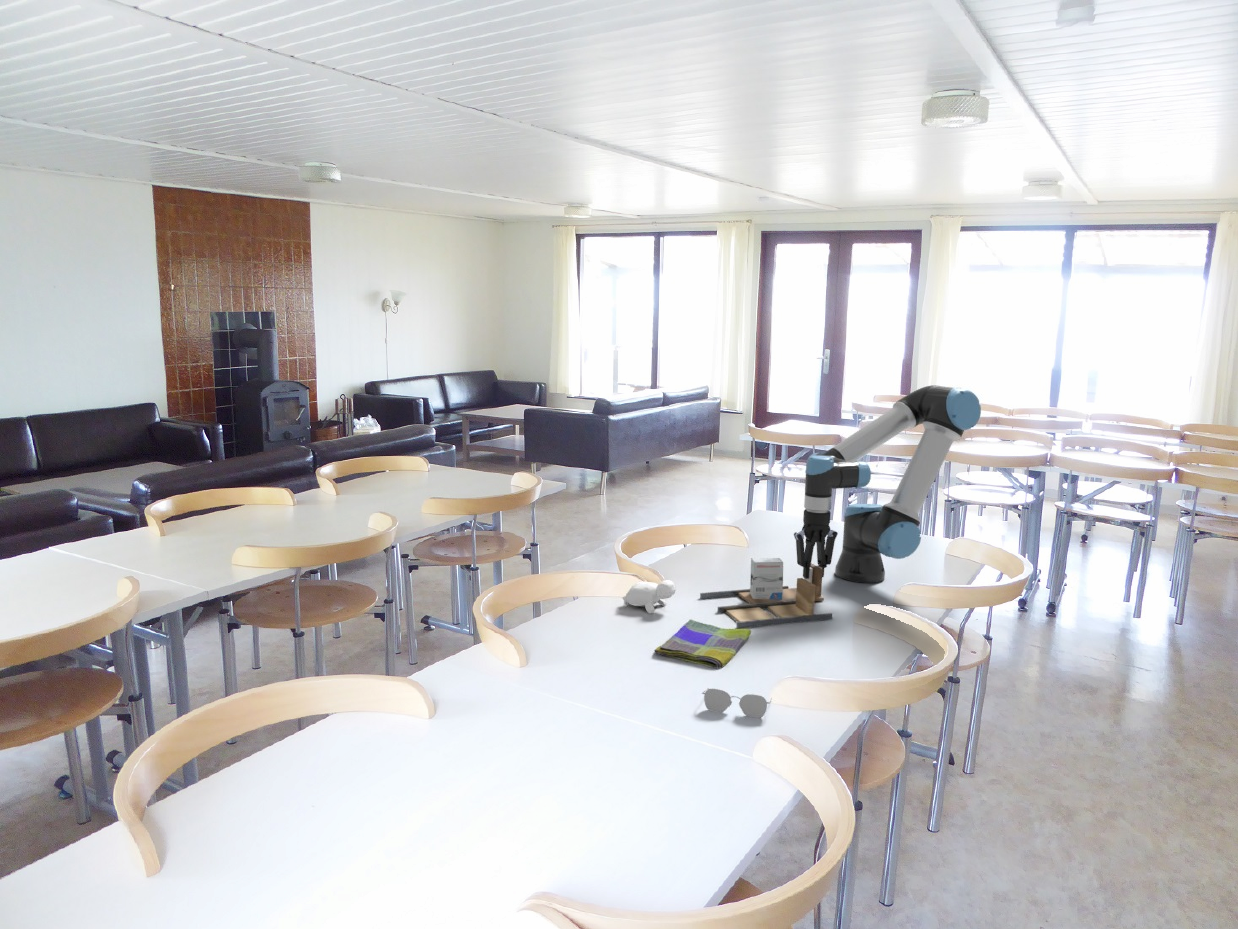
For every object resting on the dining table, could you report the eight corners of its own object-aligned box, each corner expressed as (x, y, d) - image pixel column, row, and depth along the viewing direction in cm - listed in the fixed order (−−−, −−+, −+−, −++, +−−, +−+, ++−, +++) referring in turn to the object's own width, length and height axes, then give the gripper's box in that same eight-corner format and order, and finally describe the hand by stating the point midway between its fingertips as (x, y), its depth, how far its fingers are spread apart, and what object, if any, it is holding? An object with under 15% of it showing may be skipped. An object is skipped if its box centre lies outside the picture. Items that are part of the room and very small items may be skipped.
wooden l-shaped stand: (797, 606, 238) (799, 576, 236) (816, 618, 228) (818, 587, 227) (726, 613, 231) (727, 582, 229) (742, 625, 222) (744, 593, 220)
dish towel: (754, 638, 214) (755, 628, 214) (720, 672, 193) (720, 661, 193) (690, 625, 222) (691, 615, 222) (650, 657, 201) (651, 646, 201)
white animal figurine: (626, 619, 233) (671, 609, 225) (616, 589, 234) (662, 579, 226) (641, 610, 241) (685, 600, 233) (632, 581, 241) (676, 571, 233)
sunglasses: (700, 711, 174) (702, 687, 174) (707, 700, 182) (709, 677, 182) (768, 721, 170) (770, 697, 170) (772, 710, 178) (774, 686, 178)
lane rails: (786, 590, 251) (787, 585, 251) (832, 619, 228) (832, 613, 228) (700, 598, 243) (700, 593, 243) (737, 628, 220) (738, 623, 219)
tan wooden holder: (805, 589, 252) (807, 561, 250) (823, 600, 242) (825, 570, 241) (738, 595, 245) (740, 566, 243) (754, 606, 236) (755, 576, 234)
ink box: (778, 596, 245) (779, 557, 243) (782, 601, 240) (783, 561, 238) (749, 596, 245) (750, 557, 243) (752, 602, 240) (753, 562, 238)
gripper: (833, 505, 248) (828, 582, 252) (786, 508, 243) (782, 586, 248) (848, 511, 241) (842, 590, 245) (799, 514, 236) (795, 594, 241)
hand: (812, 588), depth 246 cm, fingers open, 2 cm apart
